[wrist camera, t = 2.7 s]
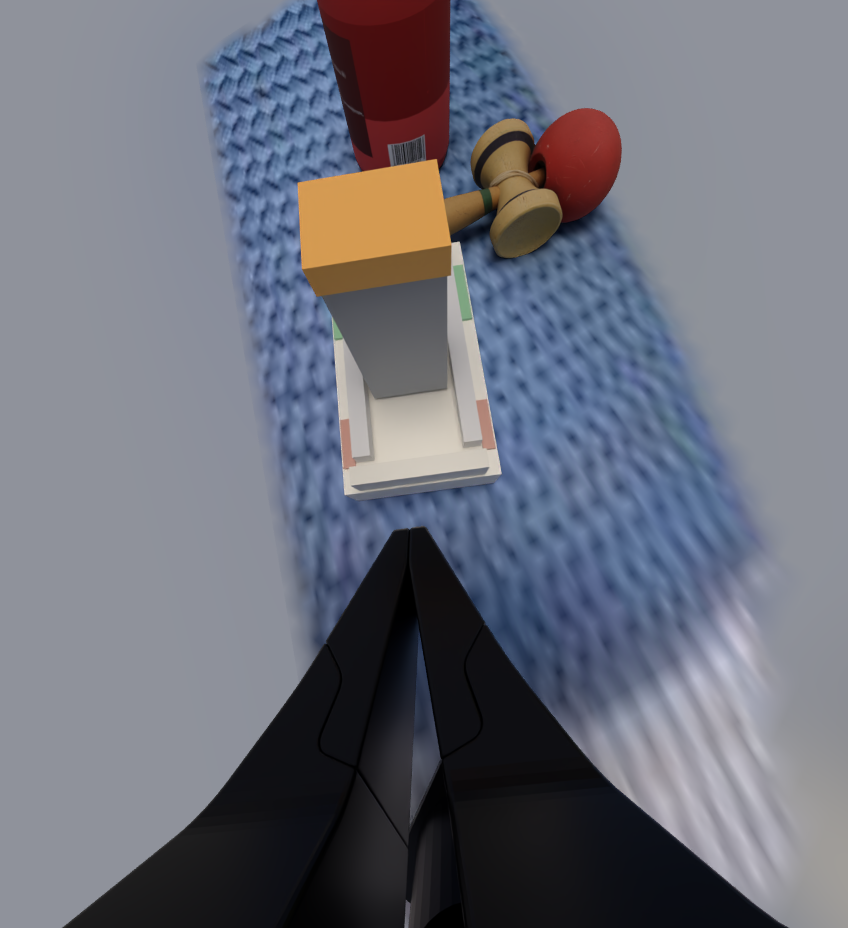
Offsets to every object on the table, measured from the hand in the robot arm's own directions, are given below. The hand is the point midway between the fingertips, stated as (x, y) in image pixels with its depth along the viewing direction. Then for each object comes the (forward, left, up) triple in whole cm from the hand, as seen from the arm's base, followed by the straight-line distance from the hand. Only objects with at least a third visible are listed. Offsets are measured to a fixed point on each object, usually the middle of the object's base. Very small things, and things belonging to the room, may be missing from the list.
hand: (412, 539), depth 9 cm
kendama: (+23, +7, -13) cm, 27 cm away
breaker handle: (+8, +6, -10) cm, 14 cm away
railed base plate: (+9, +6, -13) cm, 17 cm away
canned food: (+27, +17, -13) cm, 34 cm away
